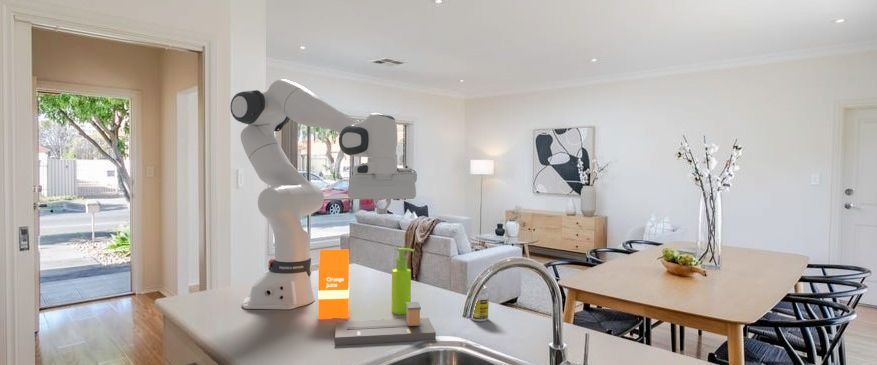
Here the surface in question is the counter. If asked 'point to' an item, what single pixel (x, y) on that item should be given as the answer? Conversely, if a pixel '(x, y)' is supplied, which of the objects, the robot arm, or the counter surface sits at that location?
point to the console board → (382, 331)
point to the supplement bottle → (481, 306)
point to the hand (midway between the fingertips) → (382, 214)
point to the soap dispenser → (401, 284)
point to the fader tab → (413, 313)
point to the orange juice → (333, 284)
